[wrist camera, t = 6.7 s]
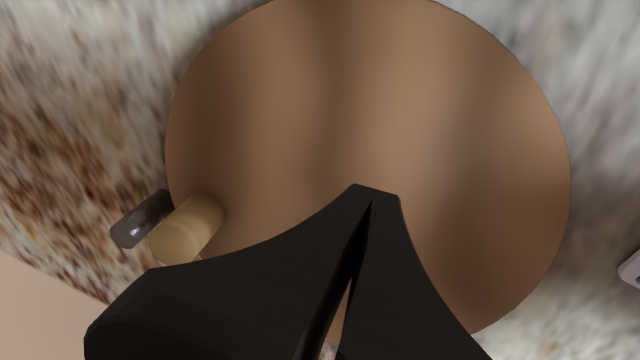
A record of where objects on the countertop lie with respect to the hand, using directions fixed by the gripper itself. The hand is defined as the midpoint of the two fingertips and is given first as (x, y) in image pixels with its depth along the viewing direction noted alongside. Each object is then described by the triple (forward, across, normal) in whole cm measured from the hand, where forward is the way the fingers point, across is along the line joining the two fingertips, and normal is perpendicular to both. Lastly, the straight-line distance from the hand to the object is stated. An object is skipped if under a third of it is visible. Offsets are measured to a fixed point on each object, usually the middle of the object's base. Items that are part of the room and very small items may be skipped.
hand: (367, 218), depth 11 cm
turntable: (+9, +2, +5) cm, 11 cm away
